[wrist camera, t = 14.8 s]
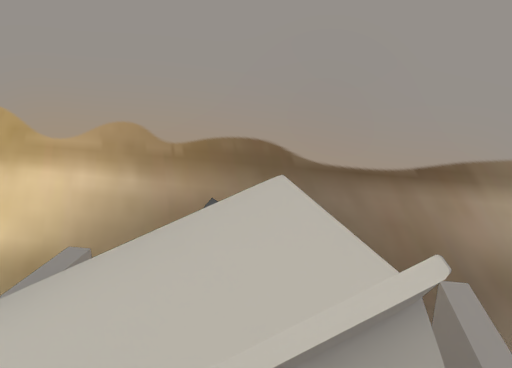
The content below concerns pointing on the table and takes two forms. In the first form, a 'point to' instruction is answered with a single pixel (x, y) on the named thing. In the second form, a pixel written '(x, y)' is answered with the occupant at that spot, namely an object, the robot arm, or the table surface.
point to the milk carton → (230, 297)
